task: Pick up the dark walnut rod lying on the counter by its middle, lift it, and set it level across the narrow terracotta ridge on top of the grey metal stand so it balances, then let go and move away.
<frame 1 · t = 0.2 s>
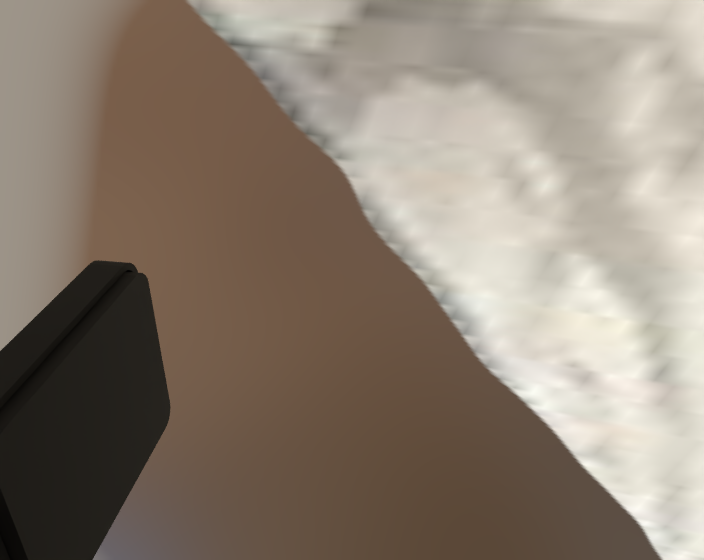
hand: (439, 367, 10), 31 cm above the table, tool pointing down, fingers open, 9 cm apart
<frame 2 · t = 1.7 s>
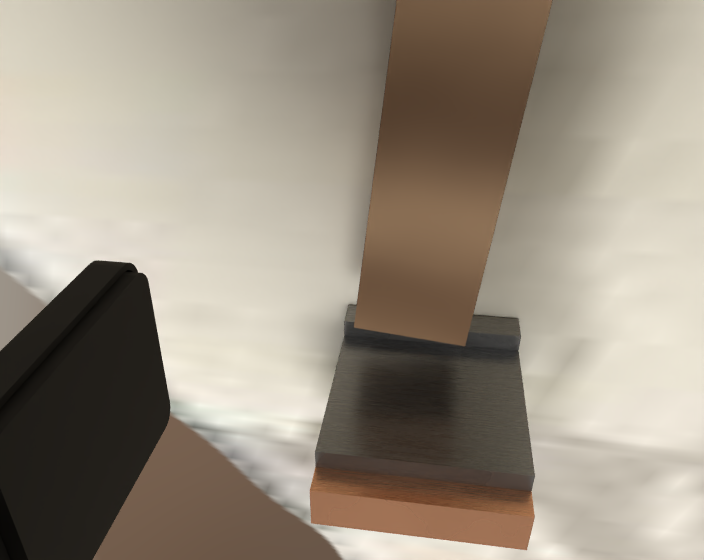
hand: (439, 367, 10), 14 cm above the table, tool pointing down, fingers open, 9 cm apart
walnut rod: (452, 82, 22), on the table
ridge stand: (428, 353, 28), on the table
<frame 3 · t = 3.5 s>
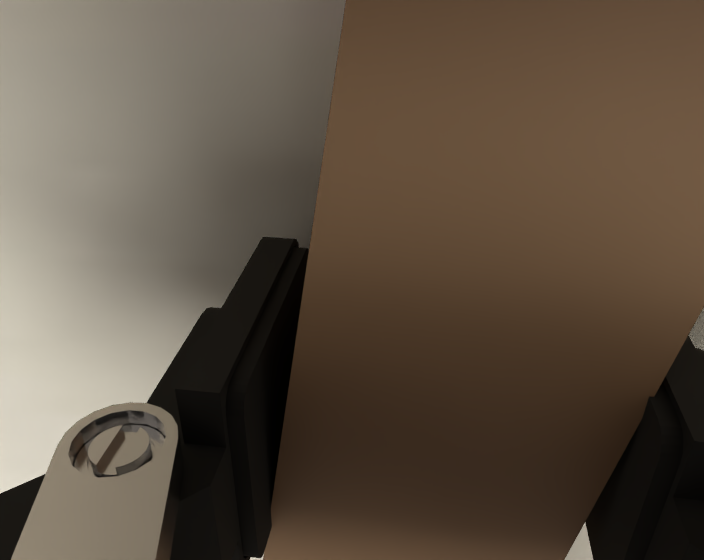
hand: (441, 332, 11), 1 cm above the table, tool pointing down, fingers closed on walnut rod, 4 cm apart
walnut rod: (442, 298, 11), on the table, touching gripper
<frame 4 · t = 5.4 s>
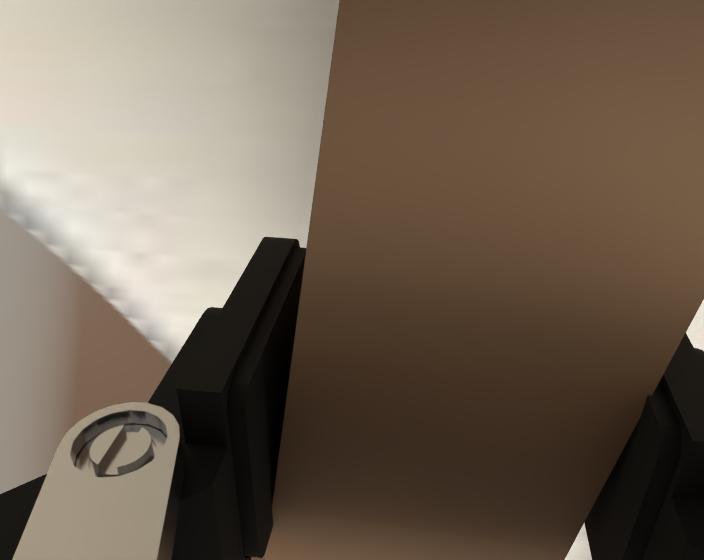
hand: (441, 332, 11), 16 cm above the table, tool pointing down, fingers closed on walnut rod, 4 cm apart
walnut rod: (442, 298, 11), point 15 cm above the table, touching gripper
when the fingers open (10 cm above the table, at t = 7.4 s): walnut rod stays where it is, resting on ridge stand.
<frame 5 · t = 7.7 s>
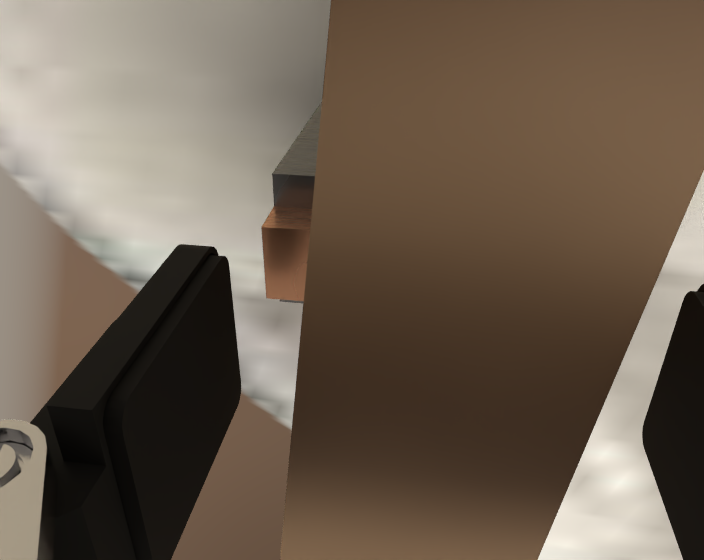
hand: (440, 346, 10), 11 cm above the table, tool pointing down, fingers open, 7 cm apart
walnut rod: (443, 274, 12), point 9 cm above the table, touching ridge stand
ridge stand: (447, 138, 19), on the table
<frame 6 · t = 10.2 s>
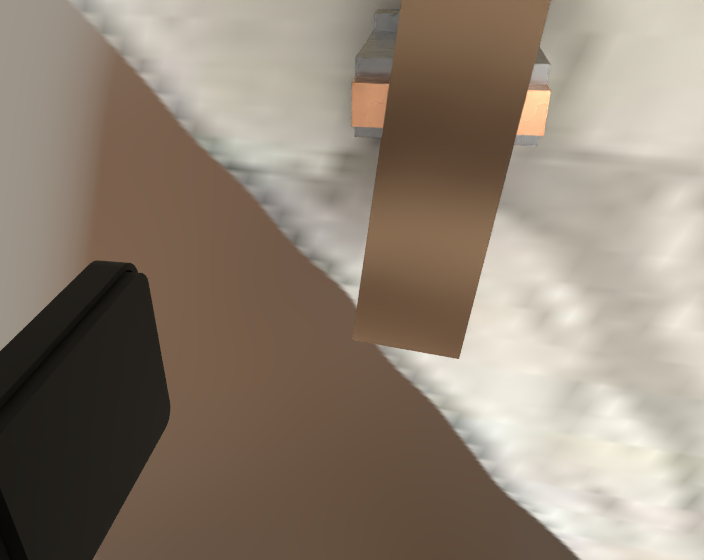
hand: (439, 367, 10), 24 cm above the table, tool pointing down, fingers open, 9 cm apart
walnut rod: (447, 107, 23), point 9 cm above the table, touching ridge stand
ridge stand: (449, 61, 30), on the table
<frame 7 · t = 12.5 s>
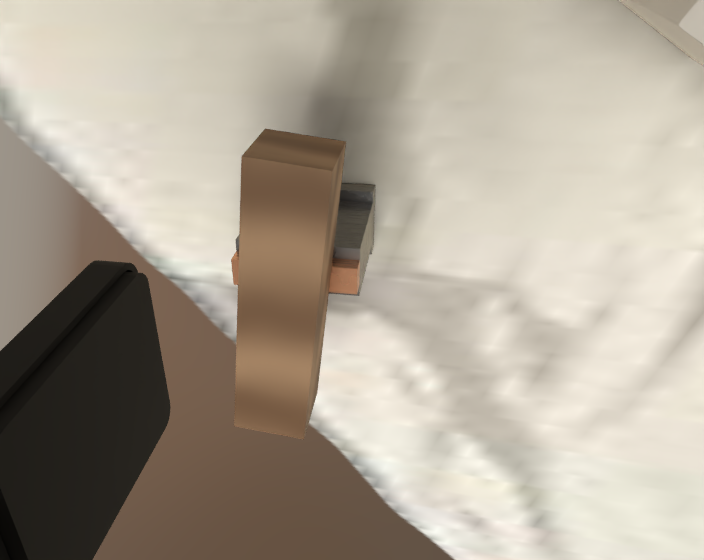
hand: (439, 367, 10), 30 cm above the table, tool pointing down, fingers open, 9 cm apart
walnut rod: (294, 275, 35), point 9 cm above the table, touching ridge stand
ridge stand: (322, 212, 42), on the table
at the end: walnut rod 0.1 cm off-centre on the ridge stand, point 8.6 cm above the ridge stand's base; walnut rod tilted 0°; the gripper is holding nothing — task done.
